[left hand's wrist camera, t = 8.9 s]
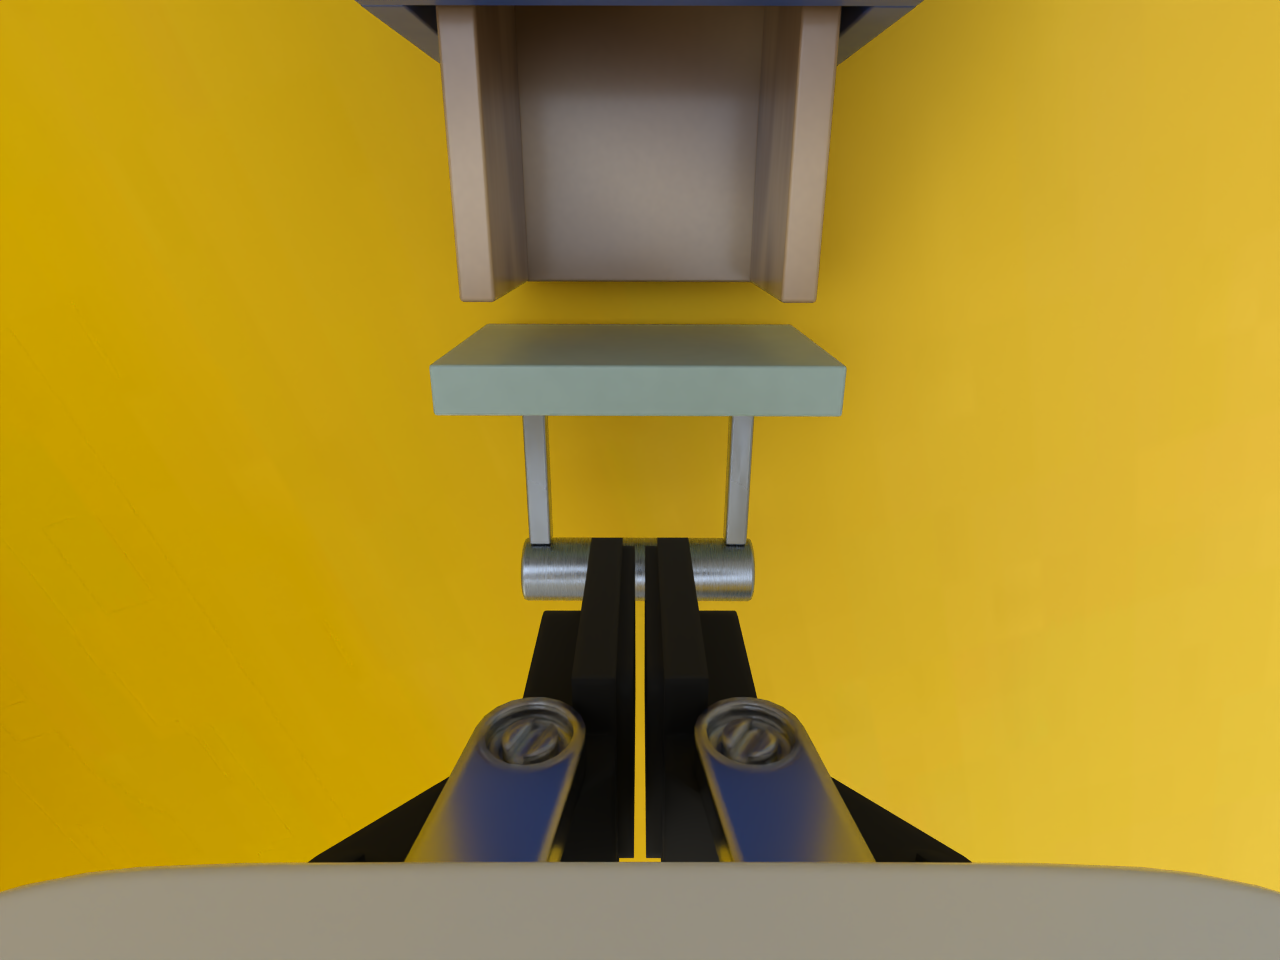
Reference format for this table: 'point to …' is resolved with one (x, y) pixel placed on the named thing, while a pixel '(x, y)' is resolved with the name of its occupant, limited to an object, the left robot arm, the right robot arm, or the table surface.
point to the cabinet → (864, 12)
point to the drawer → (638, 230)
